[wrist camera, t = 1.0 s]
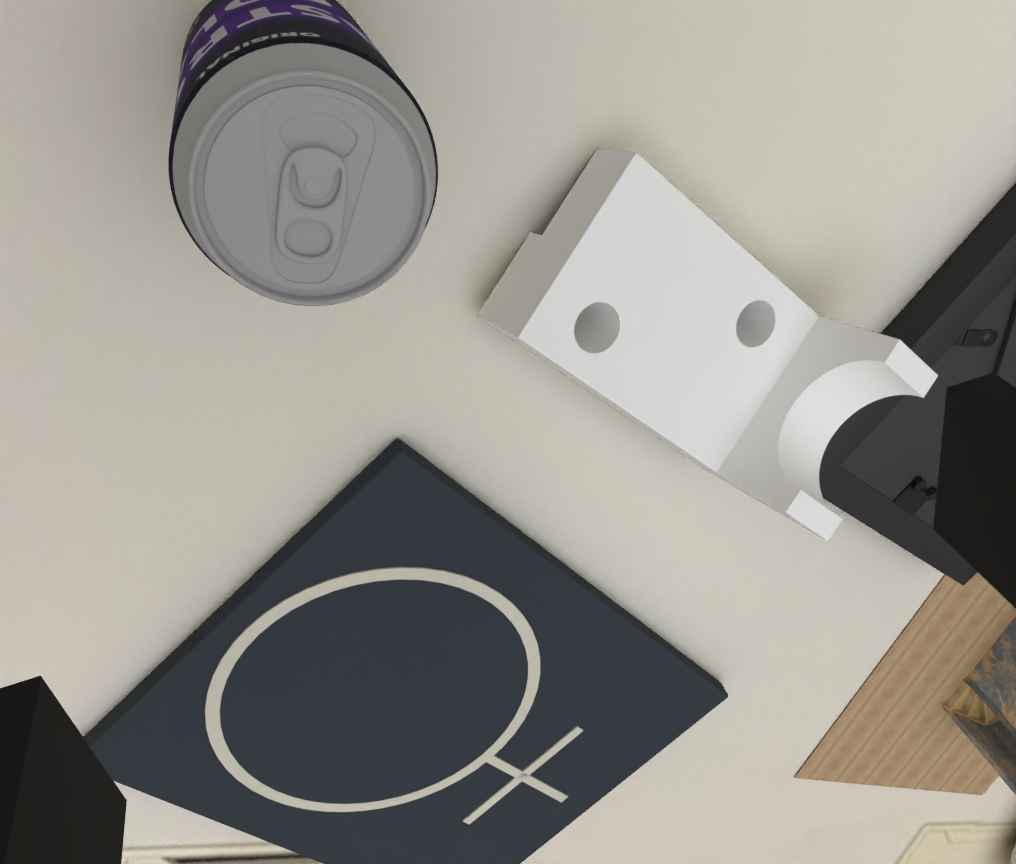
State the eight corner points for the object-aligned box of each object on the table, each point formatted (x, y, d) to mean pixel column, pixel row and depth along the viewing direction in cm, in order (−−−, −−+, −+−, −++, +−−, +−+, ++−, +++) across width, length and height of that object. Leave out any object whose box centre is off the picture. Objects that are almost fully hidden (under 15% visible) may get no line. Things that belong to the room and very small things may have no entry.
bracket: (796, 330, 41) (938, 375, 34) (705, 470, 41) (828, 541, 34) (584, 147, 34) (709, 159, 27) (477, 315, 34) (575, 368, 28)
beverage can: (384, -6, 29) (472, 76, 19) (359, 178, 32) (426, 334, 22) (186, -45, 27) (171, 23, 17) (178, 154, 30) (161, 311, 20)
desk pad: (73, 746, 41) (70, 766, 40) (397, 436, 37) (402, 452, 36) (451, 899, 54) (455, 918, 53) (721, 682, 50) (730, 698, 49)
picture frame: (1074, 117, 37) (771, 455, 43) (1117, 131, 36) (795, 482, 41) (1219, 286, 44) (940, 563, 49) (1263, 305, 42) (967, 591, 47)
